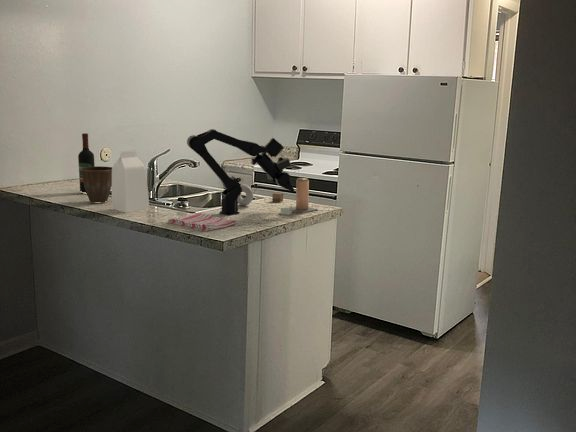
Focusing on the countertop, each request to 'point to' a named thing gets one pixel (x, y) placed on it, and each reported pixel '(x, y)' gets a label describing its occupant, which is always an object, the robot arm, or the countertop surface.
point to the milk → (129, 183)
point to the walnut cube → (277, 197)
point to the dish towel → (202, 222)
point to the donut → (248, 195)
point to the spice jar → (302, 193)
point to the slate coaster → (304, 210)
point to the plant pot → (97, 182)
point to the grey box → (286, 210)
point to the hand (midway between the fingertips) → (290, 189)
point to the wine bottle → (85, 159)
